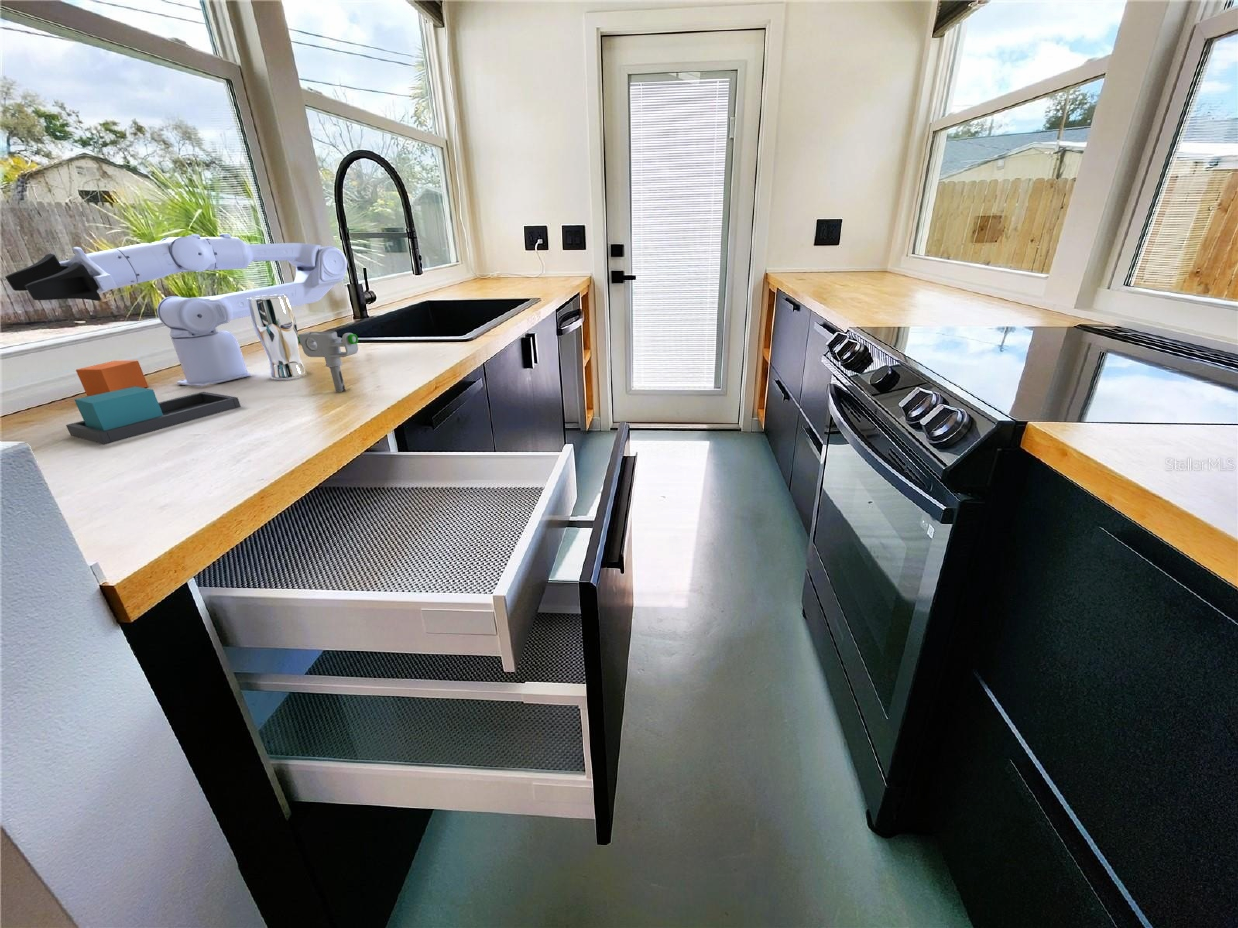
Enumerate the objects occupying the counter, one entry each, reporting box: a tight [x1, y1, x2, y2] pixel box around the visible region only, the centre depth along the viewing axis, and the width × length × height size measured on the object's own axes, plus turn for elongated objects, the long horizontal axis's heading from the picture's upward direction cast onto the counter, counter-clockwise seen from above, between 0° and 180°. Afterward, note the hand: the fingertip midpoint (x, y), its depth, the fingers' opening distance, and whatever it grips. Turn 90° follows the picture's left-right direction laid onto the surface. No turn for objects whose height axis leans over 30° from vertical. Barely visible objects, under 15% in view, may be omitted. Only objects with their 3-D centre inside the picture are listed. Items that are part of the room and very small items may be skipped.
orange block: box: [75, 360, 149, 397], centre depth 97 cm, size 7×5×5 cm
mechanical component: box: [298, 331, 359, 394], centre depth 91 cm, size 3×10×10 cm, turn 78°
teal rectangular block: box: [74, 387, 163, 431], centre depth 75 cm, size 7×5×5 cm
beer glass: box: [246, 295, 308, 381], centre depth 101 cm, size 7×7×15 cm
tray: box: [65, 391, 241, 446], centre depth 79 cm, size 18×10×2 cm, turn 153°
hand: (19, 288), depth 80 cm, fingers open, 7 cm apart
